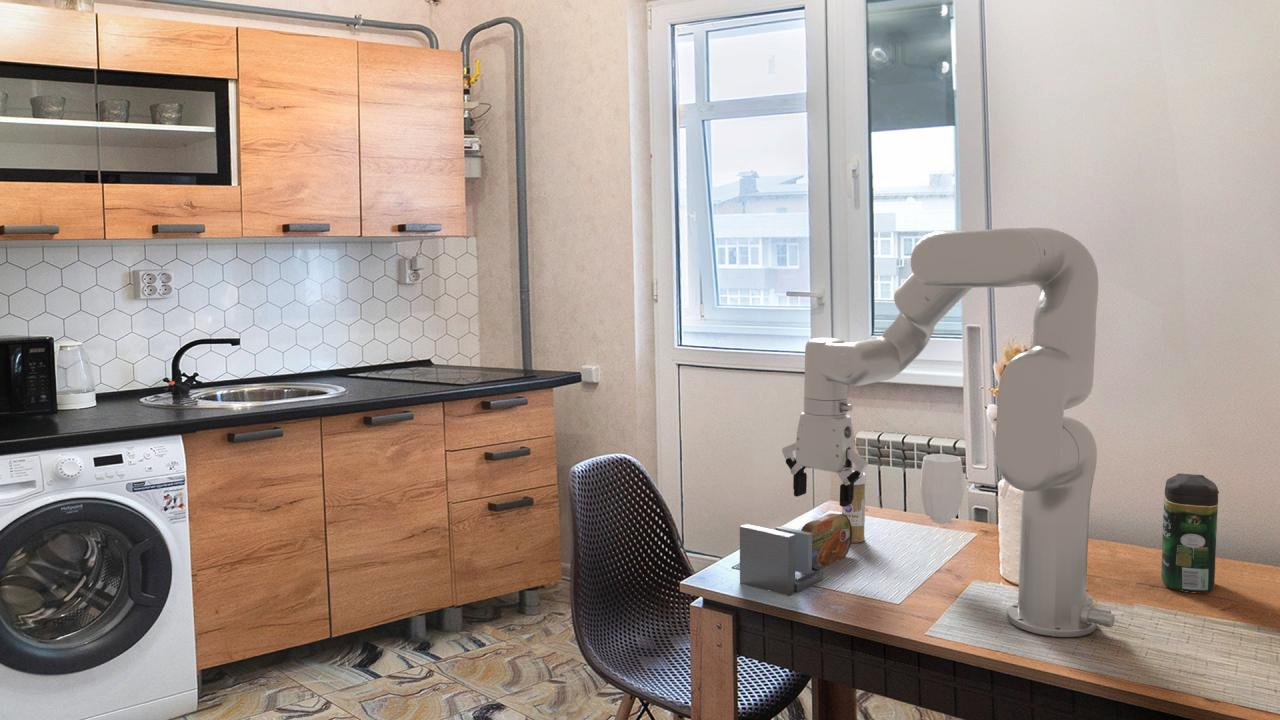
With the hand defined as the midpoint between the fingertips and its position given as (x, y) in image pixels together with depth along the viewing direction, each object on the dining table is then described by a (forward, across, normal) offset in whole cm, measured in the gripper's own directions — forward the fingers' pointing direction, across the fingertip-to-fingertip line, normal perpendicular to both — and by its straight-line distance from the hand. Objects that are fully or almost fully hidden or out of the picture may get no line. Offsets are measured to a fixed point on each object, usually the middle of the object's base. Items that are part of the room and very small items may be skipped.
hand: (822, 499), depth 184 cm
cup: (+11, -20, -7) cm, 24 cm away
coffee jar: (+10, -54, -28) cm, 61 cm away
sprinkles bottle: (+12, +2, -15) cm, 19 cm away
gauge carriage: (+10, 0, +10) cm, 14 cm away
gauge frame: (+11, -1, +14) cm, 18 cm away
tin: (+12, -1, 0) cm, 12 cm away
